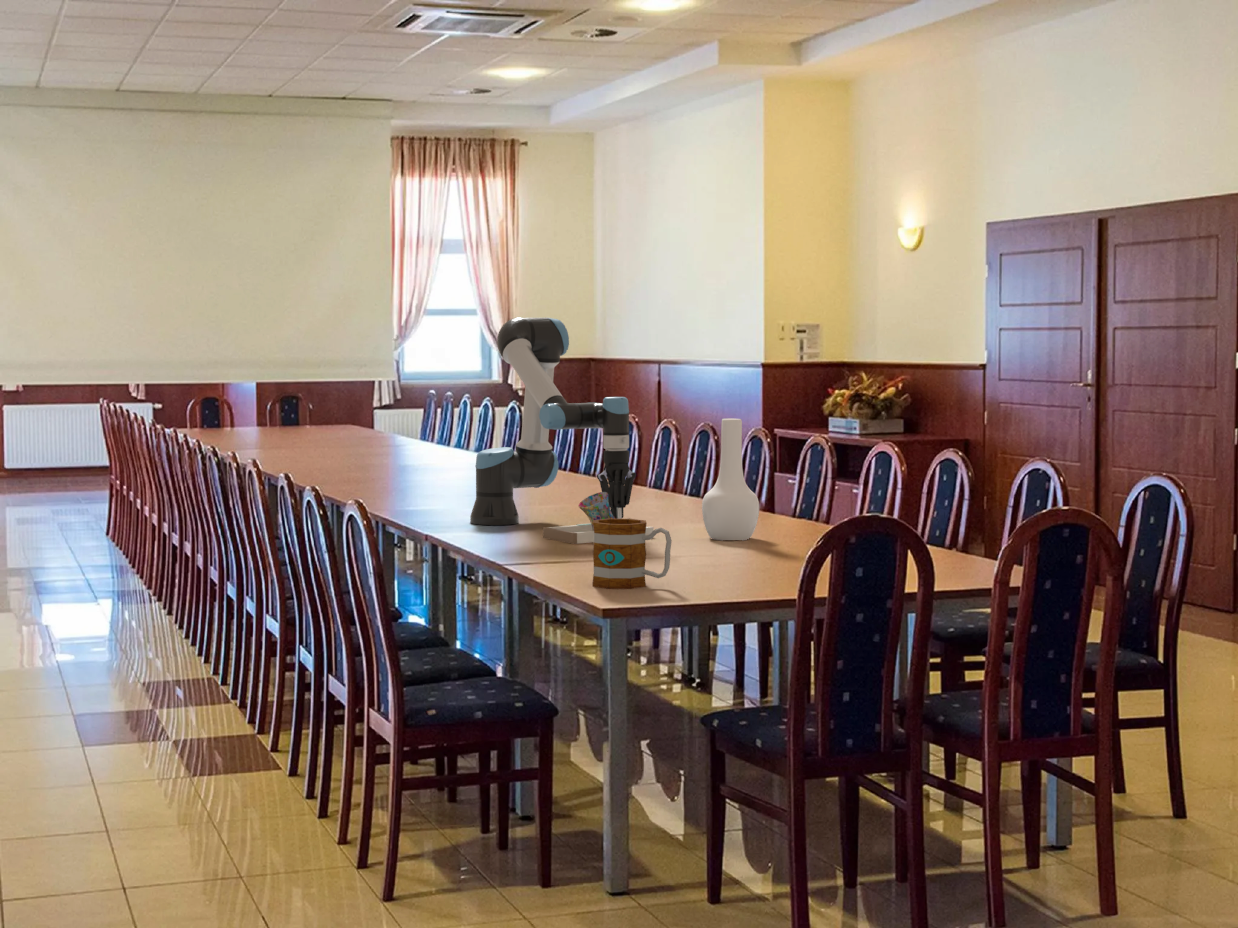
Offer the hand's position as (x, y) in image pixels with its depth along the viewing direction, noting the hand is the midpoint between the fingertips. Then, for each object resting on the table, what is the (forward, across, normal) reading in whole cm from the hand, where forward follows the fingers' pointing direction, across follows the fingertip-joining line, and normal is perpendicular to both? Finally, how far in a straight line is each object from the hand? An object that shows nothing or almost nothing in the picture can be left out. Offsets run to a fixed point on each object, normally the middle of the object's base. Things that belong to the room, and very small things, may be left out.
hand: (617, 529), depth 468 cm
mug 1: (0, -4, 0) cm, 4 cm away
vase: (+3, +25, -22) cm, 33 cm away
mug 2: (+3, -53, -78) cm, 94 cm away
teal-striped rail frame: (+2, -6, 0) cm, 6 cm away
